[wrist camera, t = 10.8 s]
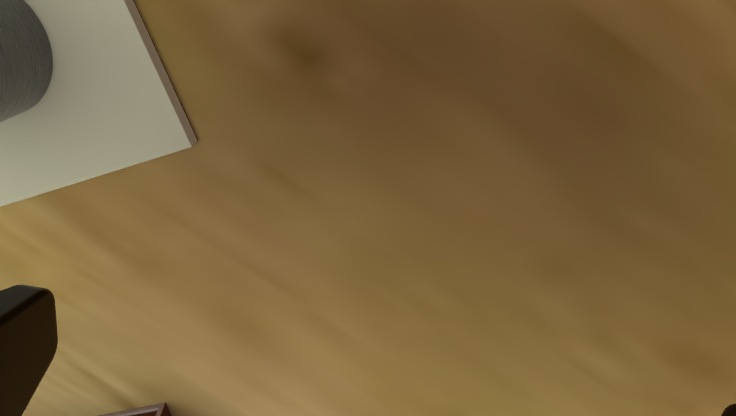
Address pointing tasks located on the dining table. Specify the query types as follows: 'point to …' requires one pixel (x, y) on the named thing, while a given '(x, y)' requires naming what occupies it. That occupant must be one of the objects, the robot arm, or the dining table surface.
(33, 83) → the steel peg
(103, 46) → the rest pad
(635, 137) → the dining table surface
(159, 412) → the food container
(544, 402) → the dining table surface
